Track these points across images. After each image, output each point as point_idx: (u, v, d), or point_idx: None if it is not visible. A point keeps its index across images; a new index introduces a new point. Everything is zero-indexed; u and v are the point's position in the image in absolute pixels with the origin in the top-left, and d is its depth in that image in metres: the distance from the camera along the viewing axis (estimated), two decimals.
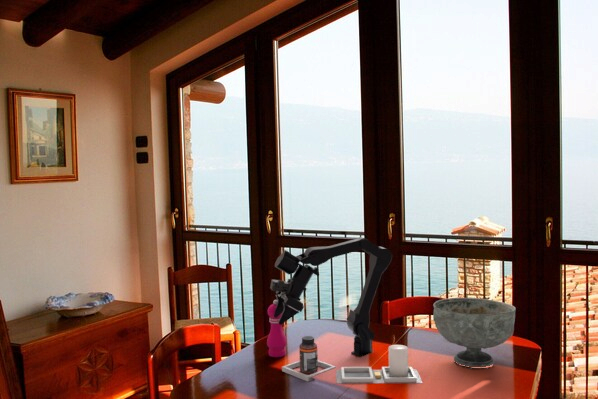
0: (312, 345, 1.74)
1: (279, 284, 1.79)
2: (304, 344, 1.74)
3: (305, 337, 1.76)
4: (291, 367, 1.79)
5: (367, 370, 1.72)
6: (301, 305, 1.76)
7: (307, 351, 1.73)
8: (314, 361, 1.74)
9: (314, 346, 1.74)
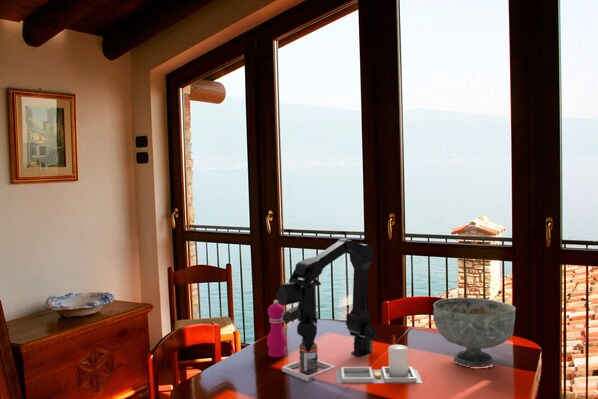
0: (312, 345, 1.74)
1: (286, 316, 1.72)
2: (304, 344, 1.74)
3: None
4: (291, 367, 1.79)
5: (367, 370, 1.72)
6: (312, 327, 1.66)
7: None
8: (314, 361, 1.74)
9: (314, 346, 1.74)
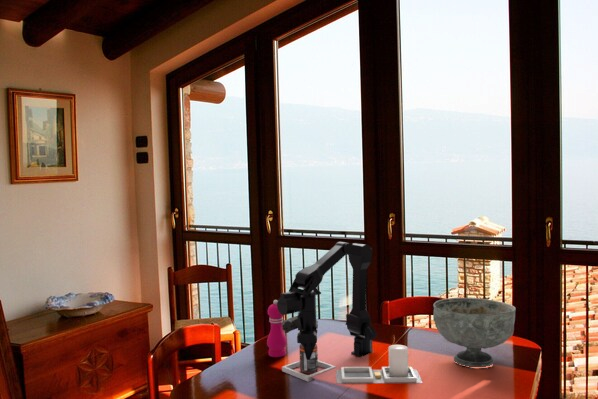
0: None
1: (286, 325, 1.72)
2: None
3: None
4: (291, 367, 1.79)
5: (367, 370, 1.72)
6: (313, 336, 1.67)
7: None
8: (314, 361, 1.74)
9: None
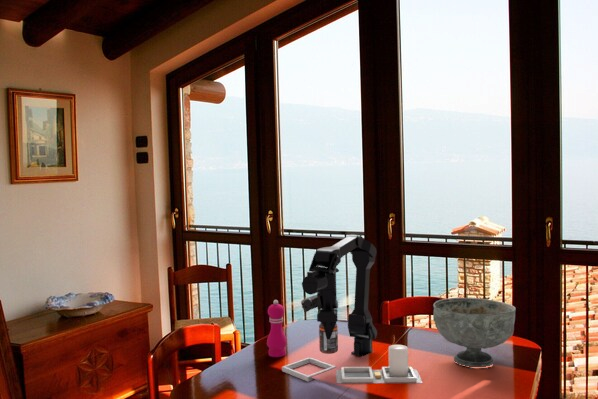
0: None
1: (305, 304, 1.68)
2: None
3: None
4: (291, 367, 1.79)
5: (367, 370, 1.72)
6: (333, 315, 1.62)
7: None
8: (334, 340, 1.70)
9: None
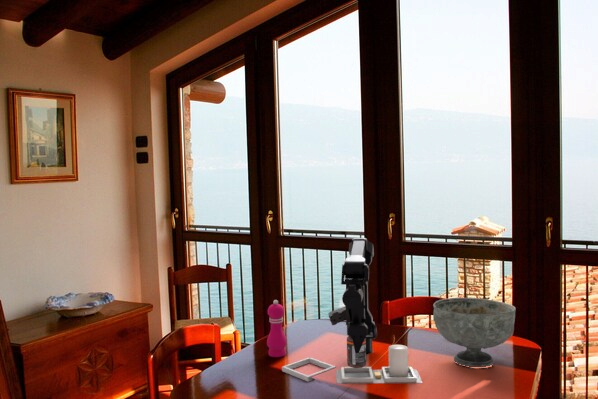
0: None
1: (334, 317, 1.63)
2: None
3: None
4: (291, 367, 1.79)
5: (367, 370, 1.72)
6: (364, 328, 1.58)
7: None
8: (363, 354, 1.65)
9: None
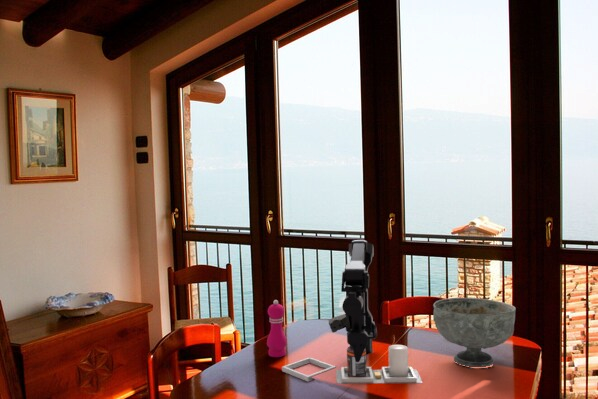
0: None
1: (334, 324, 1.63)
2: (352, 348, 1.66)
3: None
4: (291, 367, 1.79)
5: (367, 370, 1.72)
6: (364, 336, 1.58)
7: None
8: (363, 365, 1.66)
9: None
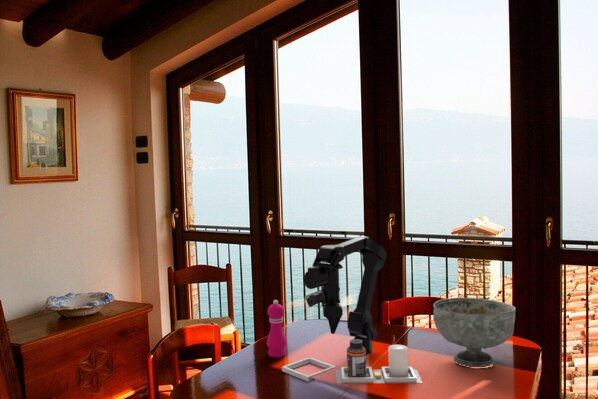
0: (361, 349, 1.66)
1: (310, 299, 1.74)
2: (352, 348, 1.66)
3: (353, 340, 1.68)
4: (291, 367, 1.79)
5: (367, 370, 1.72)
6: (338, 309, 1.69)
7: (356, 355, 1.65)
8: (363, 365, 1.66)
9: (363, 350, 1.66)
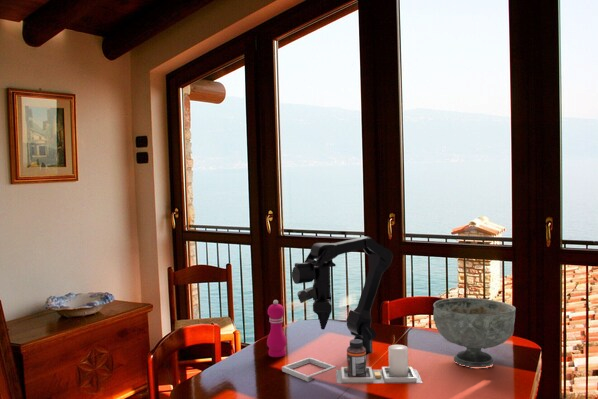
0: (361, 349, 1.66)
1: (301, 295, 1.79)
2: (352, 348, 1.66)
3: (353, 340, 1.68)
4: (291, 367, 1.79)
5: (367, 370, 1.72)
6: (328, 305, 1.74)
7: (356, 355, 1.65)
8: (363, 365, 1.66)
9: (363, 350, 1.66)
